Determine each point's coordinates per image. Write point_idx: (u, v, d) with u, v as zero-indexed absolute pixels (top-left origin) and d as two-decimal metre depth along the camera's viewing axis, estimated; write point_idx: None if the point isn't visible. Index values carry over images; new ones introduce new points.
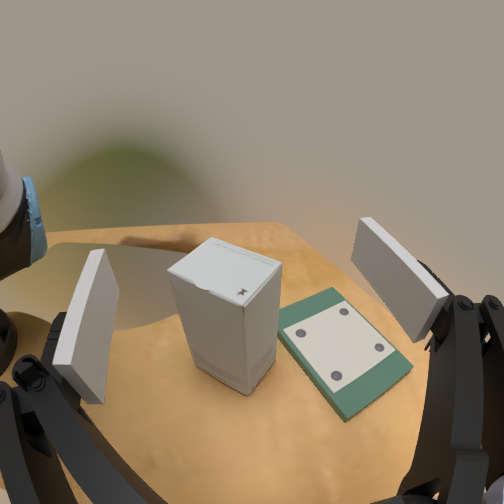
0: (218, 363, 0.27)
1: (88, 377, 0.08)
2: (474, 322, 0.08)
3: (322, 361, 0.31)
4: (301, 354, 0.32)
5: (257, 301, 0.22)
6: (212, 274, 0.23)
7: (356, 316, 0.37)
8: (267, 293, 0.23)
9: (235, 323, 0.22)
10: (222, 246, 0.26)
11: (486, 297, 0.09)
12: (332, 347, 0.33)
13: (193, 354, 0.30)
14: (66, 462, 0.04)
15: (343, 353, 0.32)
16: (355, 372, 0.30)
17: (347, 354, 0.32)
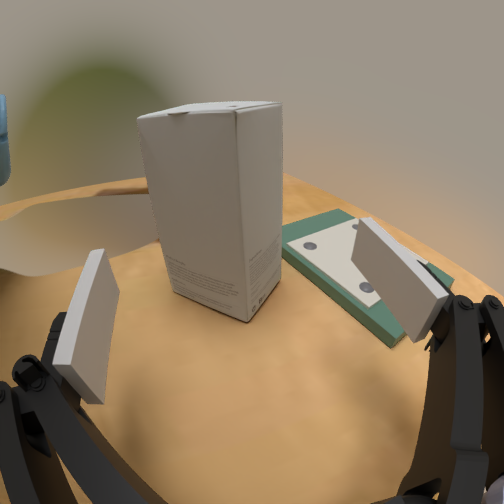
0: (202, 261, 0.20)
1: (88, 377, 0.08)
2: (474, 322, 0.08)
3: (344, 272, 0.24)
4: (315, 267, 0.25)
5: (255, 124, 0.15)
6: (194, 107, 0.16)
7: None
8: (267, 126, 0.16)
9: (225, 151, 0.14)
10: None
11: (486, 297, 0.09)
12: None
13: (169, 267, 0.23)
14: (66, 462, 0.04)
15: None
16: None
17: None
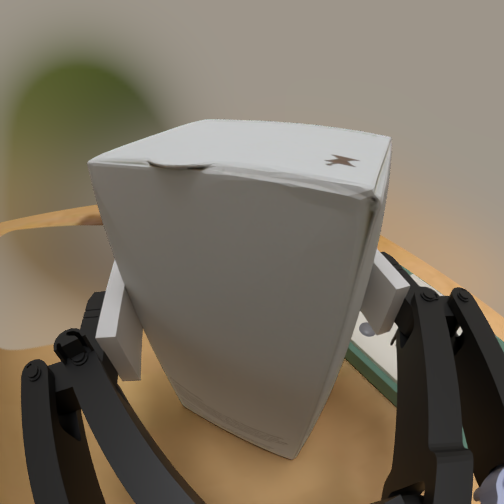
0: (233, 410, 0.11)
1: (128, 351, 0.09)
2: (440, 314, 0.08)
3: None
4: (378, 366, 0.16)
5: (382, 211, 0.06)
6: (216, 140, 0.07)
7: None
8: None
9: (316, 296, 0.05)
10: (234, 120, 0.10)
11: (454, 290, 0.09)
12: None
13: (176, 388, 0.14)
14: (98, 438, 0.05)
15: None
16: None
17: None
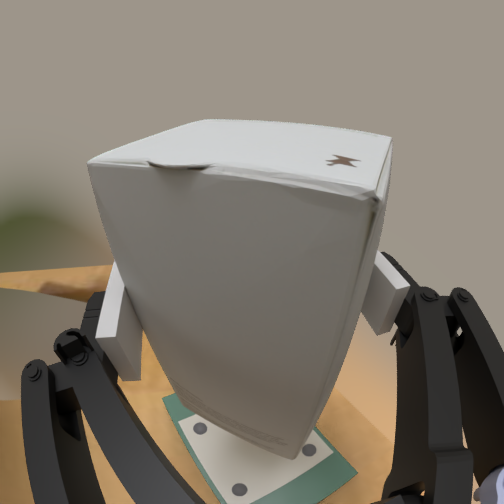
0: (234, 411, 0.11)
1: (128, 351, 0.09)
2: (440, 313, 0.08)
3: (223, 469, 0.20)
4: (197, 457, 0.21)
5: (383, 211, 0.06)
6: (216, 141, 0.07)
7: None
8: (386, 202, 0.07)
9: (316, 297, 0.05)
10: (234, 120, 0.10)
11: (454, 290, 0.09)
12: (239, 450, 0.21)
13: (176, 389, 0.14)
14: (98, 438, 0.05)
15: (254, 459, 0.21)
16: (267, 486, 0.18)
17: (259, 461, 0.20)
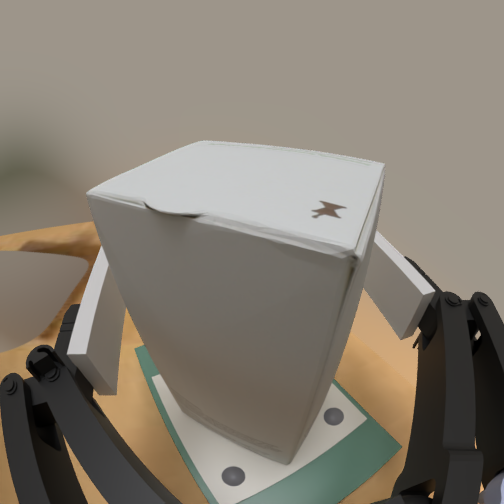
0: (230, 421, 0.11)
1: (102, 367, 0.08)
2: (462, 318, 0.08)
3: (209, 445, 0.14)
4: (174, 427, 0.15)
5: (368, 251, 0.06)
6: (209, 179, 0.07)
7: None
8: None
9: (301, 334, 0.06)
10: (229, 145, 0.10)
11: (475, 294, 0.09)
12: None
13: (176, 397, 0.14)
14: (76, 453, 0.05)
15: None
16: (274, 471, 0.13)
17: None
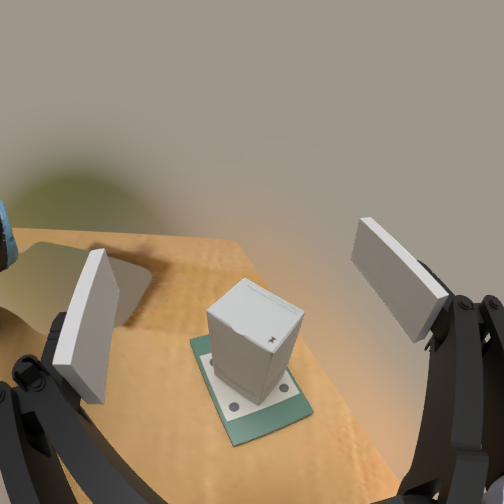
0: (239, 380, 0.32)
1: (88, 377, 0.08)
2: (474, 322, 0.08)
3: (225, 391, 0.35)
4: (209, 381, 0.36)
5: (282, 346, 0.26)
6: (247, 319, 0.27)
7: None
8: (290, 337, 0.27)
9: (263, 360, 0.26)
10: (254, 290, 0.30)
11: (486, 297, 0.09)
12: None
13: (215, 368, 0.35)
14: (66, 462, 0.04)
15: None
16: (252, 407, 0.34)
17: None
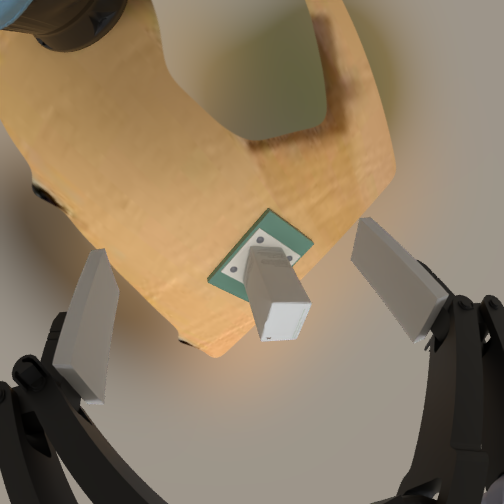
0: (249, 283, 0.49)
1: (88, 377, 0.08)
2: (474, 322, 0.08)
3: (241, 259, 0.52)
4: (242, 246, 0.50)
5: None
6: (276, 323, 0.40)
7: None
8: None
9: (257, 327, 0.43)
10: (302, 314, 0.40)
11: (486, 297, 0.09)
12: None
13: (252, 256, 0.48)
14: (66, 462, 0.04)
15: None
16: (239, 277, 0.54)
17: None
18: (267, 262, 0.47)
